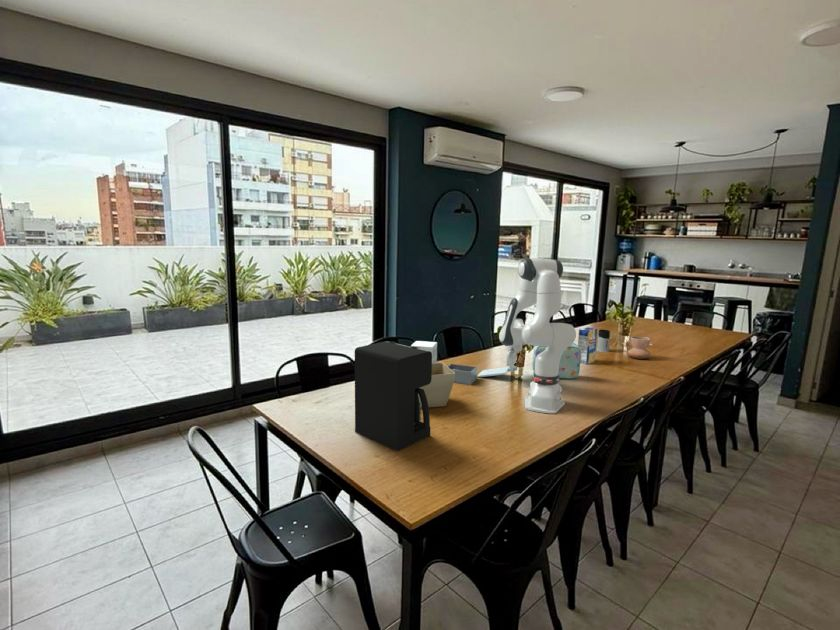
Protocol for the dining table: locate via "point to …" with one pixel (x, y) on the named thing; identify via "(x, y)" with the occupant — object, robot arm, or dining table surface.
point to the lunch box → (564, 361)
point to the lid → (495, 371)
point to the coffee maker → (392, 393)
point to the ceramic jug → (639, 347)
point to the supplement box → (427, 348)
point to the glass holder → (604, 341)
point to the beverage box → (587, 344)
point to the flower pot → (439, 385)
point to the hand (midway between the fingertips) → (512, 370)
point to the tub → (464, 373)
